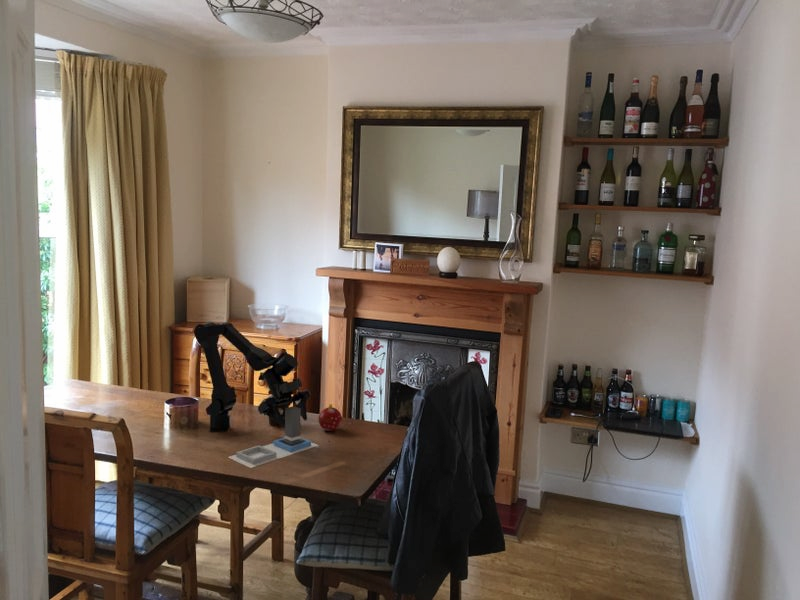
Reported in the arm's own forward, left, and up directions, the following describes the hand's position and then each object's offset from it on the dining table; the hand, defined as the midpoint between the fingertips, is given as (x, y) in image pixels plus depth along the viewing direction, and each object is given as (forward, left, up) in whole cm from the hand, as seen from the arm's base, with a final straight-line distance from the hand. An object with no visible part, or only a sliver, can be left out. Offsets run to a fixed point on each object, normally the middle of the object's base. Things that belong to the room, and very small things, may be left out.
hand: (295, 422), depth 210 cm
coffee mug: (-6, +26, -9) cm, 28 cm away
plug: (-1, +1, -8) cm, 8 cm away
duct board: (-6, -4, -9) cm, 12 cm away
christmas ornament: (+12, +19, -9) cm, 24 cm away
